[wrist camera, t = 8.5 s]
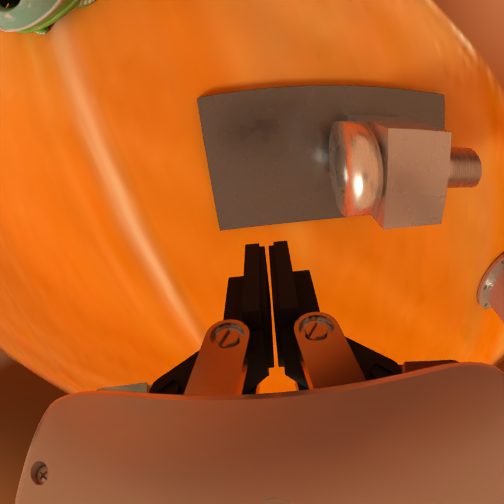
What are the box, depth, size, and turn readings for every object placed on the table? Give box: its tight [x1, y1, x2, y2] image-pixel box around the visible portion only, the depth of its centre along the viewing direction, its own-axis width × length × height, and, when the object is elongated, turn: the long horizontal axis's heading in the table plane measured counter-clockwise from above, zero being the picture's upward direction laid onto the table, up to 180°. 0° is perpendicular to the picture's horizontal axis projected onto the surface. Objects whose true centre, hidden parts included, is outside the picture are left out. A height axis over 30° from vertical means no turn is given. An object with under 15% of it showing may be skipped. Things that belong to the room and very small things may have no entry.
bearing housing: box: [197, 85, 452, 230], centre depth 23 cm, size 26×14×10 cm, turn 97°
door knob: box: [329, 121, 482, 217], centre depth 22 cm, size 14×8×8 cm, turn 97°
